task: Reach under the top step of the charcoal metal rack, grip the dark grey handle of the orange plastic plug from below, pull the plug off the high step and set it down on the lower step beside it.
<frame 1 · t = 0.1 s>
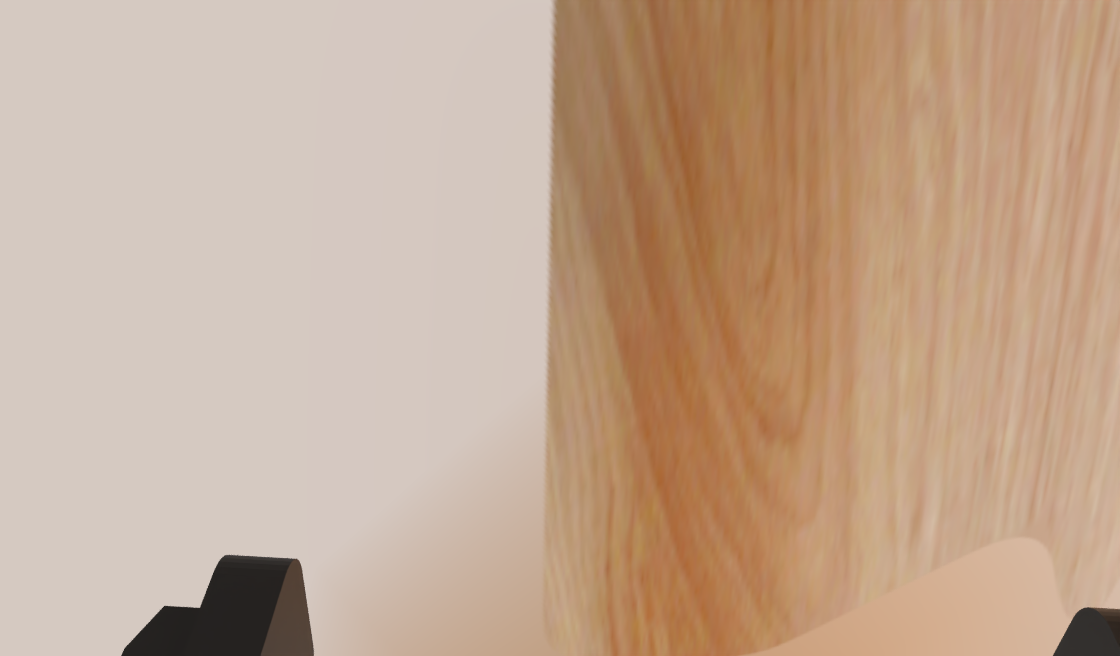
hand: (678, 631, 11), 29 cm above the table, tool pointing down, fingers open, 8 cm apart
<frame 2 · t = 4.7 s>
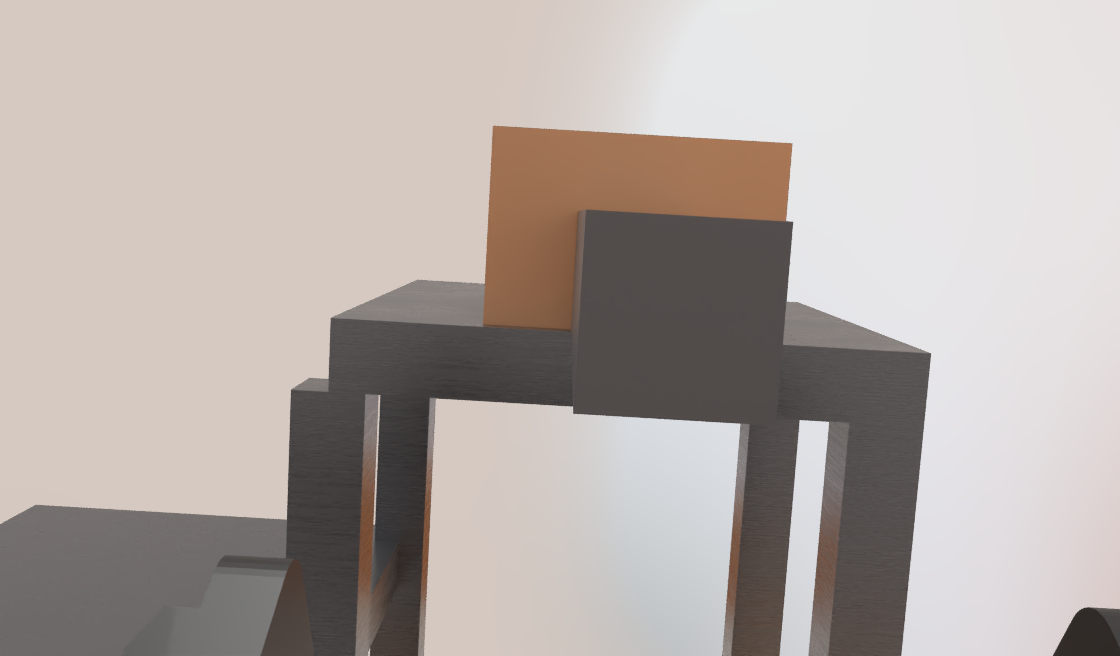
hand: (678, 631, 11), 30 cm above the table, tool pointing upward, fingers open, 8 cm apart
plug: (619, 314, 25), point 32 cm above the table, touching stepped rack
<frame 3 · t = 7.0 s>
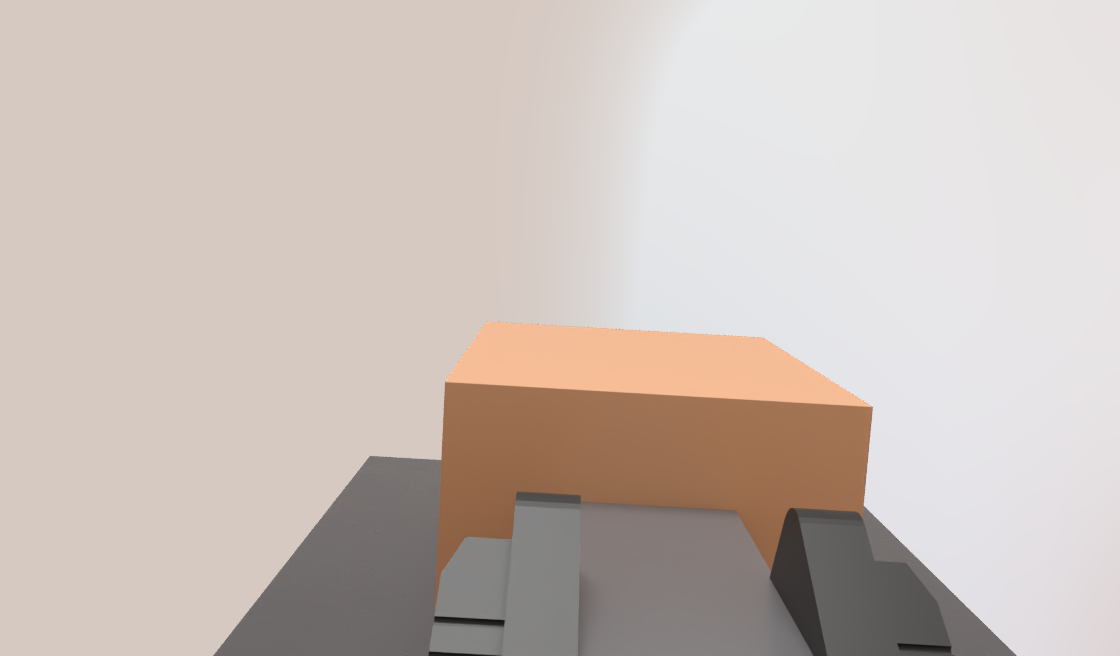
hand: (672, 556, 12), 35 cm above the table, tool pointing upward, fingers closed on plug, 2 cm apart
plug: (623, 571, 19), point 32 cm above the table, touching gripper, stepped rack
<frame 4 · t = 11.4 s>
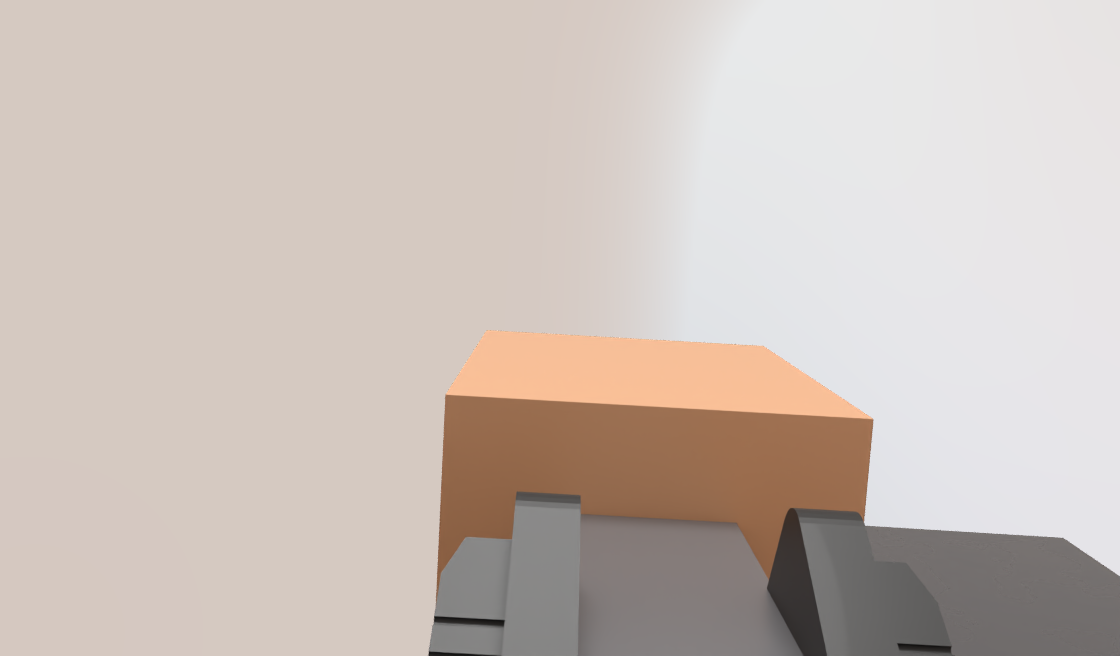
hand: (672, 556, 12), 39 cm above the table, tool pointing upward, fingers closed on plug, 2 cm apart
plug: (624, 581, 19), point 36 cm above the table, touching gripper
when the fingers open (29 cm above the table, at t = 15.6 s): plug drops 2 cm, resting on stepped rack.
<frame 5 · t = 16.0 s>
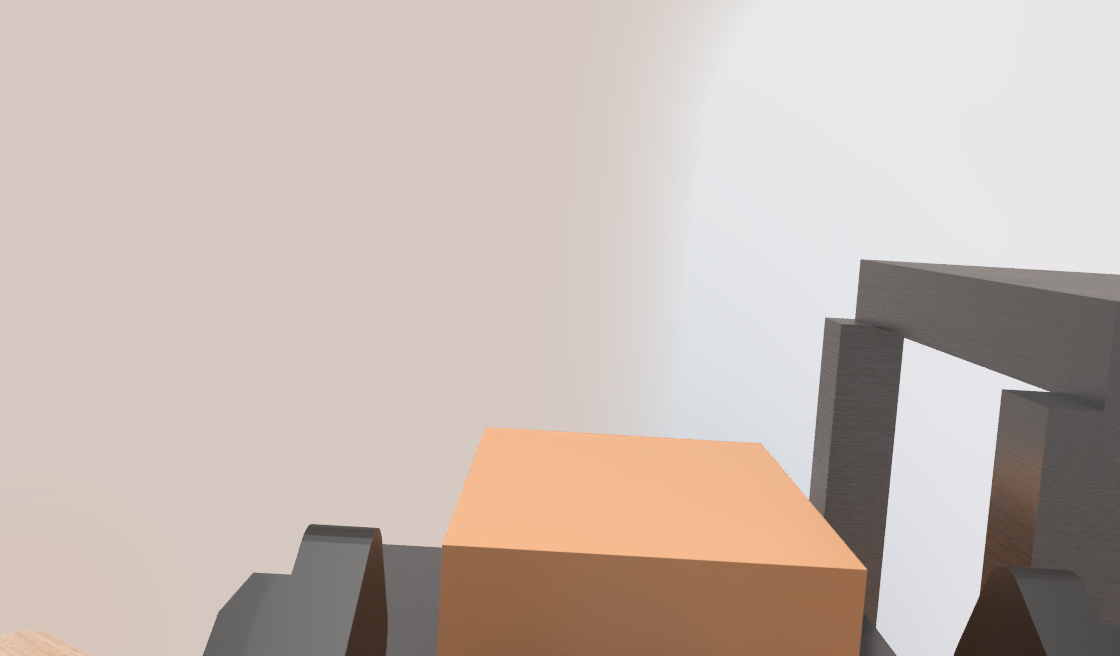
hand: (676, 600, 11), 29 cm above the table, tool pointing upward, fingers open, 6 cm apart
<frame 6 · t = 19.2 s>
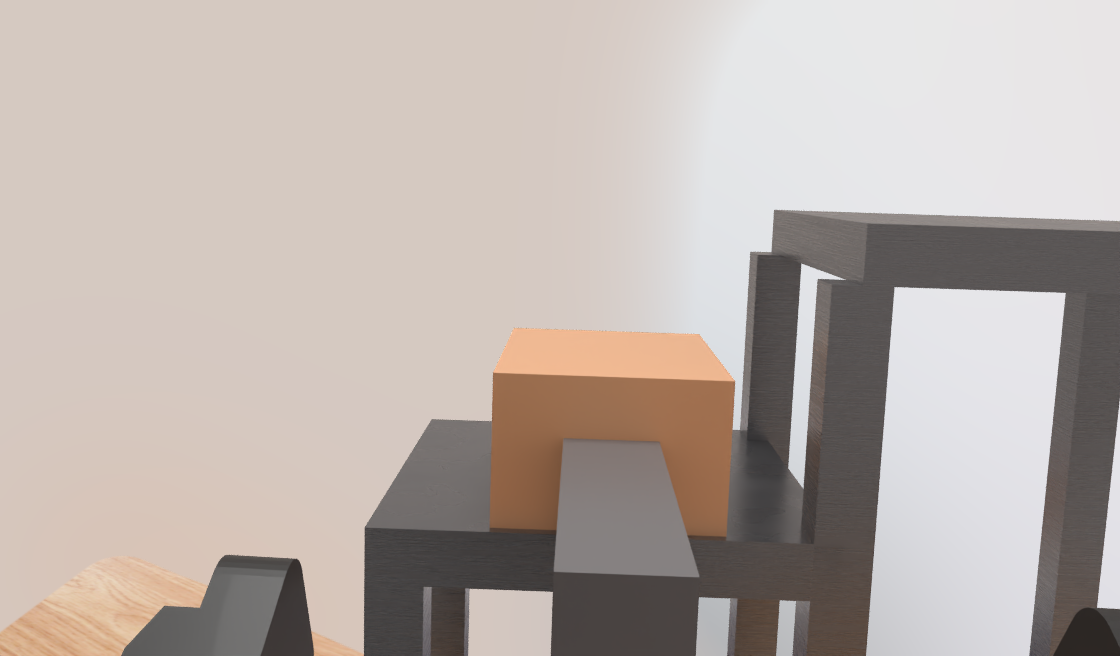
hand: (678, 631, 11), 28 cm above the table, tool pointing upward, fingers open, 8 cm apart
plug: (604, 486, 30), point 24 cm above the table, touching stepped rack
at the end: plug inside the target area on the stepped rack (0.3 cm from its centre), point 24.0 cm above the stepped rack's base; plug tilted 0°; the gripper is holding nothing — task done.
